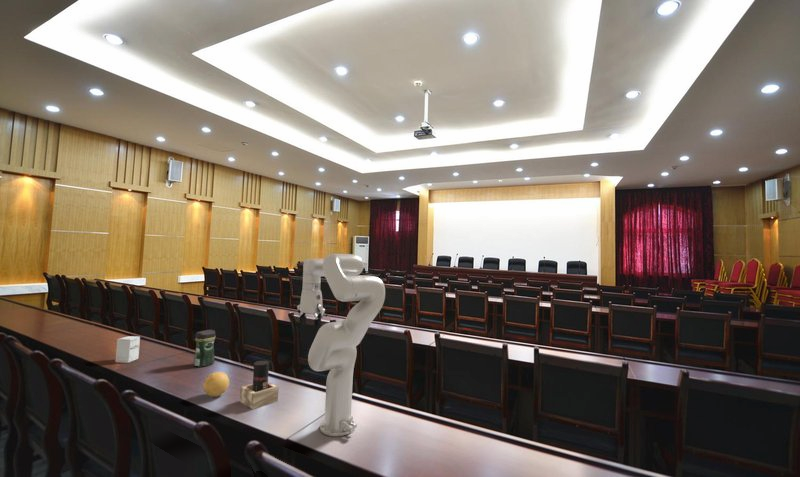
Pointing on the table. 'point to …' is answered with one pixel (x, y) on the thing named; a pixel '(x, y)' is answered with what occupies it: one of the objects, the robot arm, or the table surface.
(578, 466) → the table surface
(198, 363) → the coffee jar
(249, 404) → the wooden box
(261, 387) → the deodorant
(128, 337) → the supplement box
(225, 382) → the stress ball
